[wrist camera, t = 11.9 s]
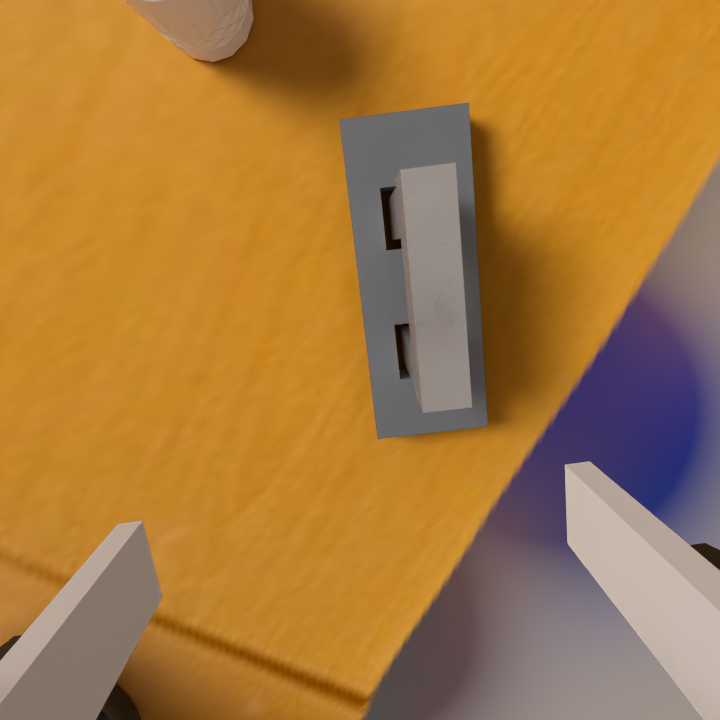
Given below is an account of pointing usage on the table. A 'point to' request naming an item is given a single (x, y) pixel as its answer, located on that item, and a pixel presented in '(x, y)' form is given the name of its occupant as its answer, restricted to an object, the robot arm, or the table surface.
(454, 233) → the light gray u-shaped block
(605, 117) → the table surface
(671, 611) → the robot arm
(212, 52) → the white cup
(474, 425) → the grey slotted base plate
